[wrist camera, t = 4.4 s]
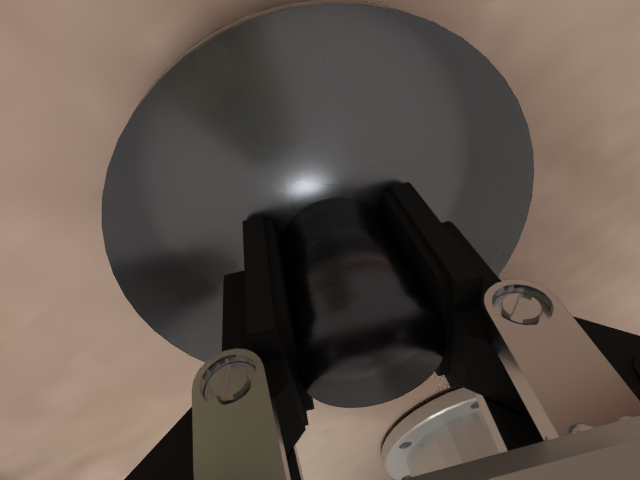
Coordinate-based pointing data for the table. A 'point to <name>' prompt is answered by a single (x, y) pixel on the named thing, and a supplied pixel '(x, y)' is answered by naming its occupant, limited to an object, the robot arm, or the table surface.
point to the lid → (316, 183)
